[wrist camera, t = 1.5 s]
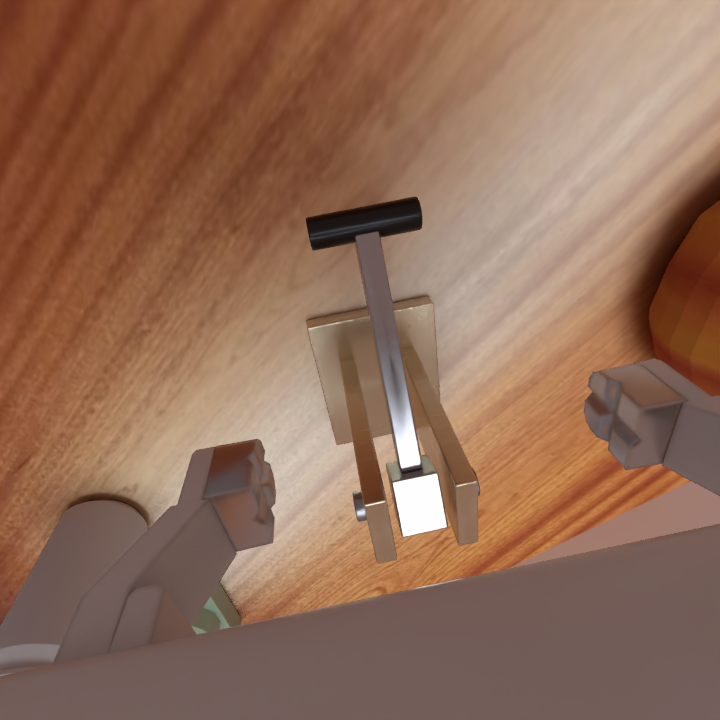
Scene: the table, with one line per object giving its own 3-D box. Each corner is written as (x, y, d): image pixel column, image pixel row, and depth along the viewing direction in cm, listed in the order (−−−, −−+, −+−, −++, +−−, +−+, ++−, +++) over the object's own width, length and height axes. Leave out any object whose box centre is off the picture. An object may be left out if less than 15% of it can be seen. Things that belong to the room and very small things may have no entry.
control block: (120, 582, 39) (104, 628, 35) (208, 563, 39) (200, 607, 35) (165, 635, 44) (154, 680, 41) (241, 618, 44) (237, 662, 41)
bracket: (306, 319, 27) (315, 466, 17) (428, 295, 28) (515, 425, 17) (335, 434, 33) (356, 602, 22) (437, 413, 33) (507, 568, 22)
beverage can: (166, 531, 36) (116, 702, 26) (97, 554, 36) (20, 732, 26) (120, 483, 32) (42, 659, 22) (44, 509, 33) (-67, 694, 23)
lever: (307, 223, 20) (303, 212, 18) (410, 203, 20) (420, 189, 18) (369, 519, 22) (372, 544, 20) (462, 498, 22) (477, 521, 20)
